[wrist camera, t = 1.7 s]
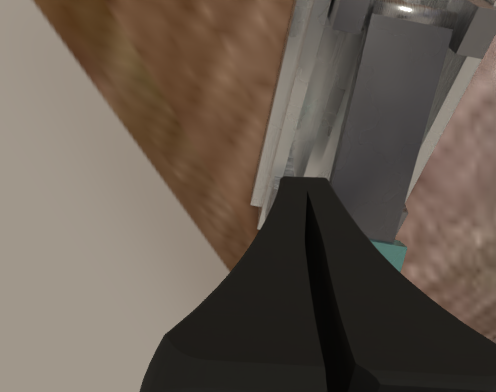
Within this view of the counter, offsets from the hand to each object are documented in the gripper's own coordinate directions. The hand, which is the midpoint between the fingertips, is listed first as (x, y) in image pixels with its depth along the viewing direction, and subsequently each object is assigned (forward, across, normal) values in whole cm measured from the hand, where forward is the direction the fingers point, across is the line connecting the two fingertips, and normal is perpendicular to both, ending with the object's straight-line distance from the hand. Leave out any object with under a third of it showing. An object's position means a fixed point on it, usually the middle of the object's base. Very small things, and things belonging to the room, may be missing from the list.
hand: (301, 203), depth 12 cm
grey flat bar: (+5, -3, +1) cm, 6 cm away
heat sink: (+10, -3, +2) cm, 11 cm away
